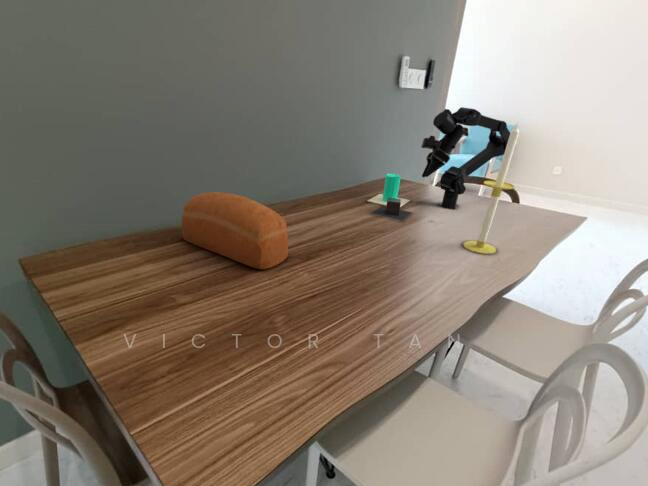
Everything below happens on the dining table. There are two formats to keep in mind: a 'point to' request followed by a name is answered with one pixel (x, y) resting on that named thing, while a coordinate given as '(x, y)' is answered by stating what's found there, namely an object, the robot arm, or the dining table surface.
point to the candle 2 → (494, 198)
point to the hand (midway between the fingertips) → (424, 176)
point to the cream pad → (379, 200)
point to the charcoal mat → (400, 217)
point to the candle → (391, 186)
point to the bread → (236, 229)
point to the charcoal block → (393, 206)
